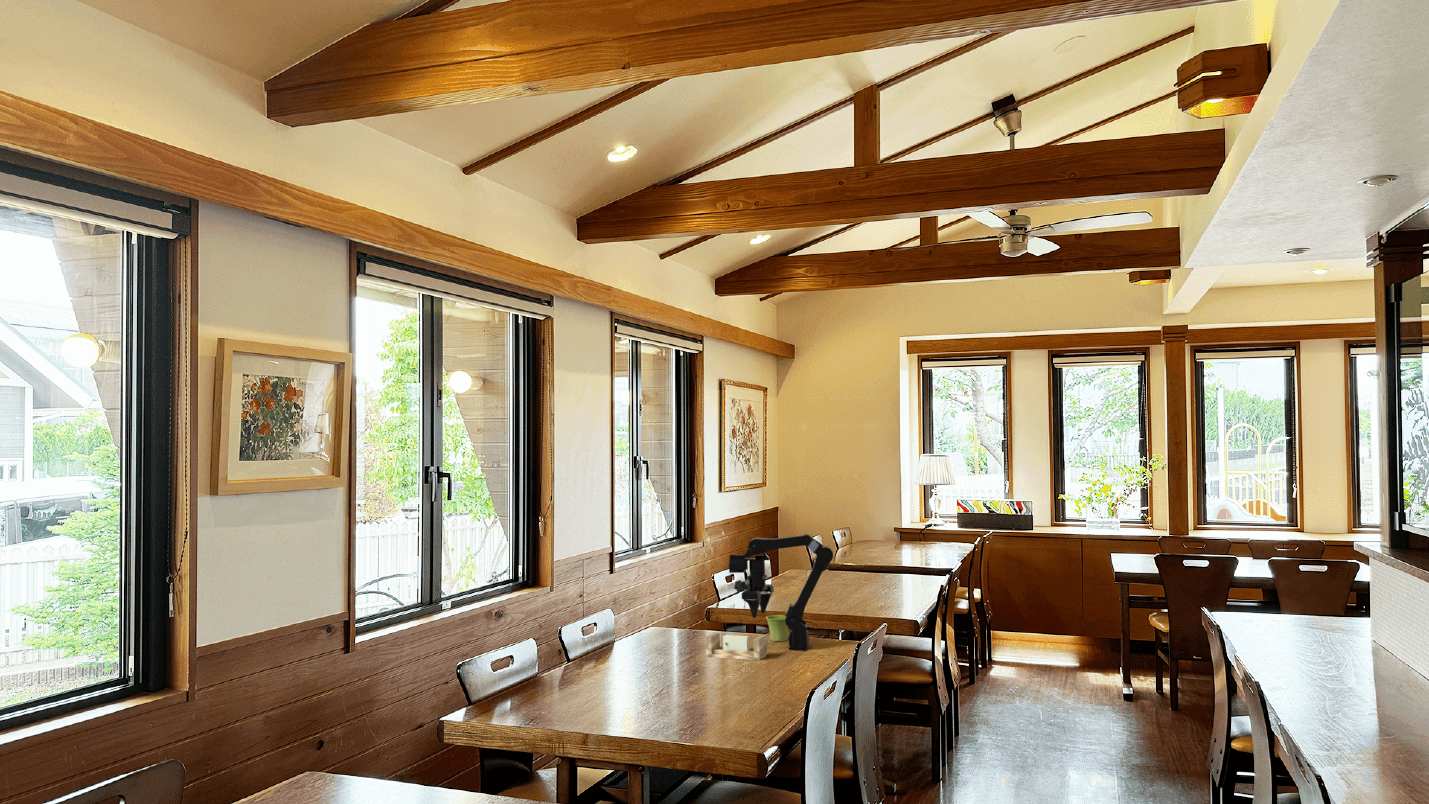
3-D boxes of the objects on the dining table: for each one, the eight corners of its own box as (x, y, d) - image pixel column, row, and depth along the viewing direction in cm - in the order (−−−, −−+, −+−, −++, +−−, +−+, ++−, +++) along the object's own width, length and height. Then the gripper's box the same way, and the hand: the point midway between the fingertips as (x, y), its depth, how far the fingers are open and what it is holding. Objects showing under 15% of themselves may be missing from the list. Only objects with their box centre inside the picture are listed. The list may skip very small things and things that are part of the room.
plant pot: (779, 636, 350) (778, 614, 350) (796, 640, 343) (795, 616, 343) (761, 640, 344) (760, 617, 344) (778, 643, 336) (778, 620, 337)
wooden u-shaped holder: (767, 655, 319) (766, 635, 319) (759, 660, 311) (758, 639, 312) (715, 651, 326) (714, 632, 327) (706, 656, 319) (705, 636, 319)
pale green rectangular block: (749, 653, 318) (749, 636, 319) (746, 655, 315) (745, 638, 316) (726, 652, 322) (725, 635, 322) (722, 654, 319) (722, 636, 319)
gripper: (745, 568, 342) (747, 610, 341) (727, 575, 325) (728, 619, 324) (773, 569, 338) (774, 611, 337) (756, 576, 321) (757, 620, 320)
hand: (758, 615), depth 330 cm, fingers open, 9 cm apart
